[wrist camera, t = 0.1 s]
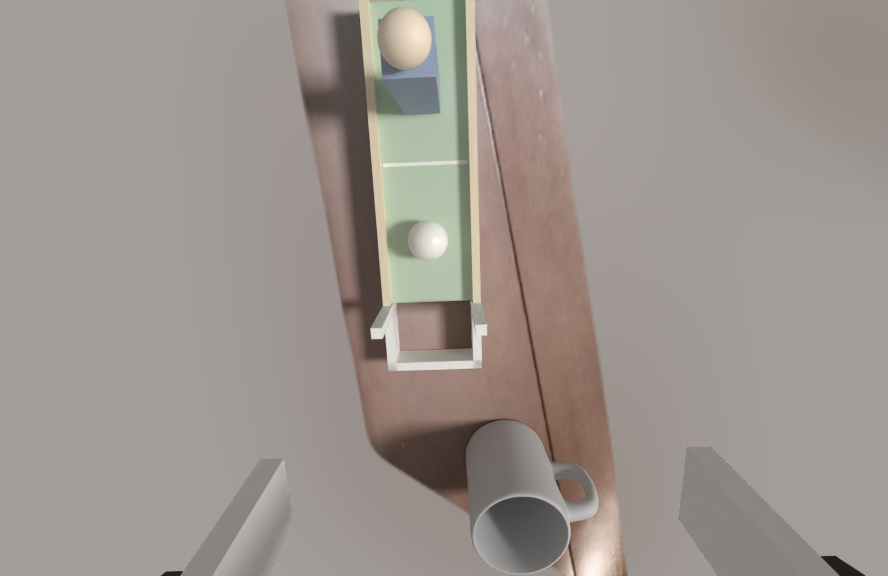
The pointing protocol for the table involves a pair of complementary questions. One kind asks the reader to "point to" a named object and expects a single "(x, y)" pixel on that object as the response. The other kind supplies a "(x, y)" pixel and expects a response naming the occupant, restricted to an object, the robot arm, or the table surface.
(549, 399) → the table surface
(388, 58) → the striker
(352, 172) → the table surface
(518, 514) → the mug
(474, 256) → the pitch
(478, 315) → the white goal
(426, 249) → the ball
